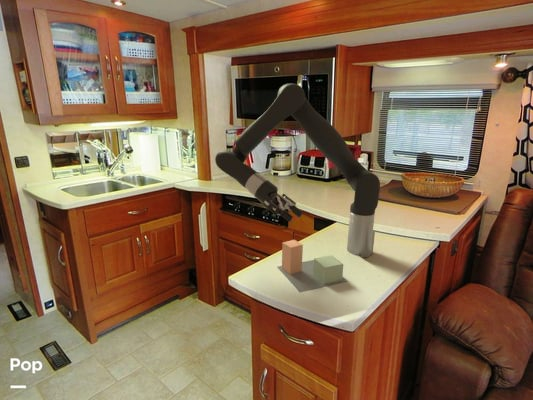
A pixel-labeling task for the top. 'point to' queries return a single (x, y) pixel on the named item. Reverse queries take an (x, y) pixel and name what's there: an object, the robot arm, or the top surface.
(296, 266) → the top brick
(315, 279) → the baseplate
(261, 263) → the top surface
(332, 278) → the bottom brick
